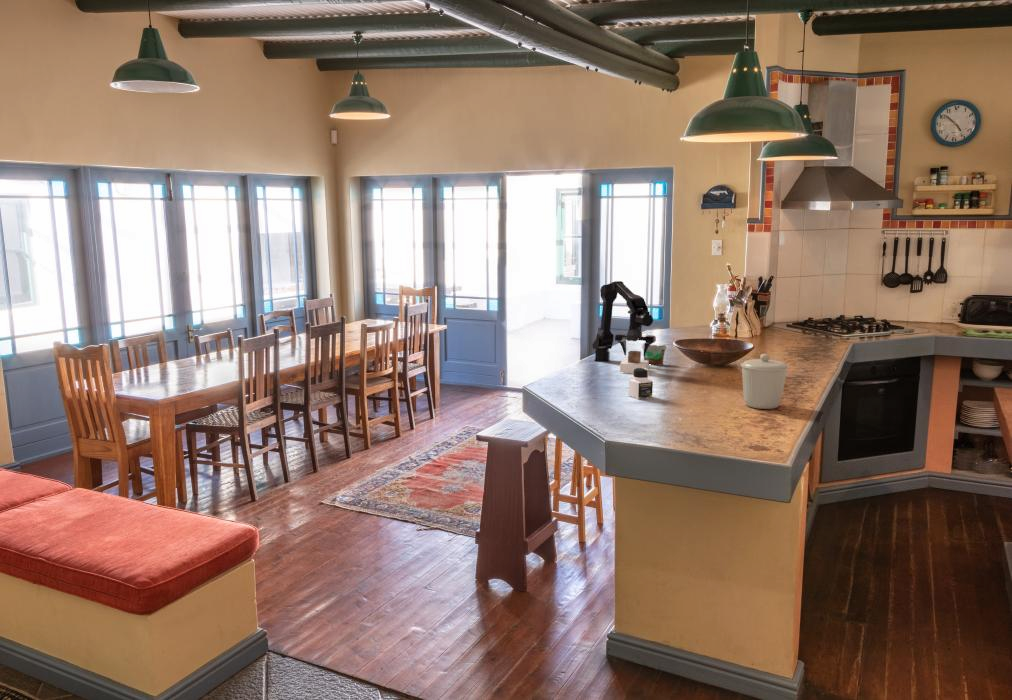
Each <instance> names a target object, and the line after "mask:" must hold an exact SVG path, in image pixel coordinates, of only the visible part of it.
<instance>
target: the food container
mask: <svg viewBox="0 0 1012 700" xmlns="http://www.w3.org/2000/svg"><path fill="white" fill-rule="evenodd" d="M644 343H645V342H644ZM644 343H643V344H642V346H641V348H642V350H643V352H644V346H645V345H644ZM666 350H667V346H666V344H664V345H663V344H662V345H656V344H650V346H649V347H648V349H647V352H646V355H645V357H644V356H643V360H646V361H649V364H651V365H650V366H660V365H659V364H662V365H663V364H664V357H665V352H666Z"/></svg>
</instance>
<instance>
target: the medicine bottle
mask: <svg viewBox="0 0 1012 700" xmlns="http://www.w3.org/2000/svg"><path fill="white" fill-rule="evenodd" d="M632 377H633V378H631V379H628V397H630V396H632V397H631V398H633V397H634V398H633V399H636V398H637V399H636V400H641V399H640V398H646V399H648V398H647V397H652V398H653V384H654V383H653V380H650V379H649V368H648V369H646V368H636V369H634V374H633V376H632Z"/></svg>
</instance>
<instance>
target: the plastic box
mask: <svg viewBox="0 0 1012 700" xmlns="http://www.w3.org/2000/svg"><path fill="white" fill-rule="evenodd" d="M619 364H620V365H619V366H620V367H619V373H620V372H623V373H622V374H627V373H634V369H636V368H646V369H648V370H649V366H650V365H649V361H646V360H644V359H641V361H640V362H639V363H628V358H626V359H625V358H624V359H622V361H620V363H619Z"/></svg>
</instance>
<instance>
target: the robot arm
mask: <svg viewBox="0 0 1012 700" xmlns="http://www.w3.org/2000/svg"><path fill="white" fill-rule="evenodd" d="M599 290H600V291H599V292H600V298H601V300H602V311H601V320H600V321H601V322H600V329H599V330H598V331H597V334H596V337H595V340H594V341H593V343H592V349H594V350H595V351H594V352H595V355H594V356H595V358H594V359H593V361H594V362H603V361H607V360H608V361H610V356H611V355H610V353H611V352H610V350H611V349H612V348H613V343H614V341H617V343H619V344H620V346H621V348H622V351H623V354H624V356H626V355H627V341H628V342H631V341H632V342H637V341H644V345H645V346H644V351H643V358H644V357H645V355H646V352H647V349H648V347H649V346H650V345H653V344H655V342H657V341H656V340H657V338H656V336H655V335H654V334H653V335H650V334H647V335H646V336H643V332H642V331H643V330H642V327H643V326H644V327H650V326H651V325H653V322H654V318H653V316H652V315H651V314H650V311H649V308H648V306H647V303H646V301H645V299H644V297H642V296H641V295H639V294H635V293H633V292H632V290H631V289H629V287H628V286H627V285H625V284H624V282H623V281H621V280H620V281H619V280H618V281H617V280H615V281H612V282H611V283H607V284H603V285H602V286H600V289H599ZM618 295H620V296H621V297H622V299H624V301H626V306H627V307H628V308H629V310H628V311H627V314H629V327H628V331H627V332H626V333H617V334H615V335H614V334H613V332H612V331H611V328H612V327H611V326H612V318H613V317H612V316H613V308H614V307H613V306H614V302H615V301H616V299H617V298H618ZM608 361H607V362H608Z"/></svg>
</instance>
